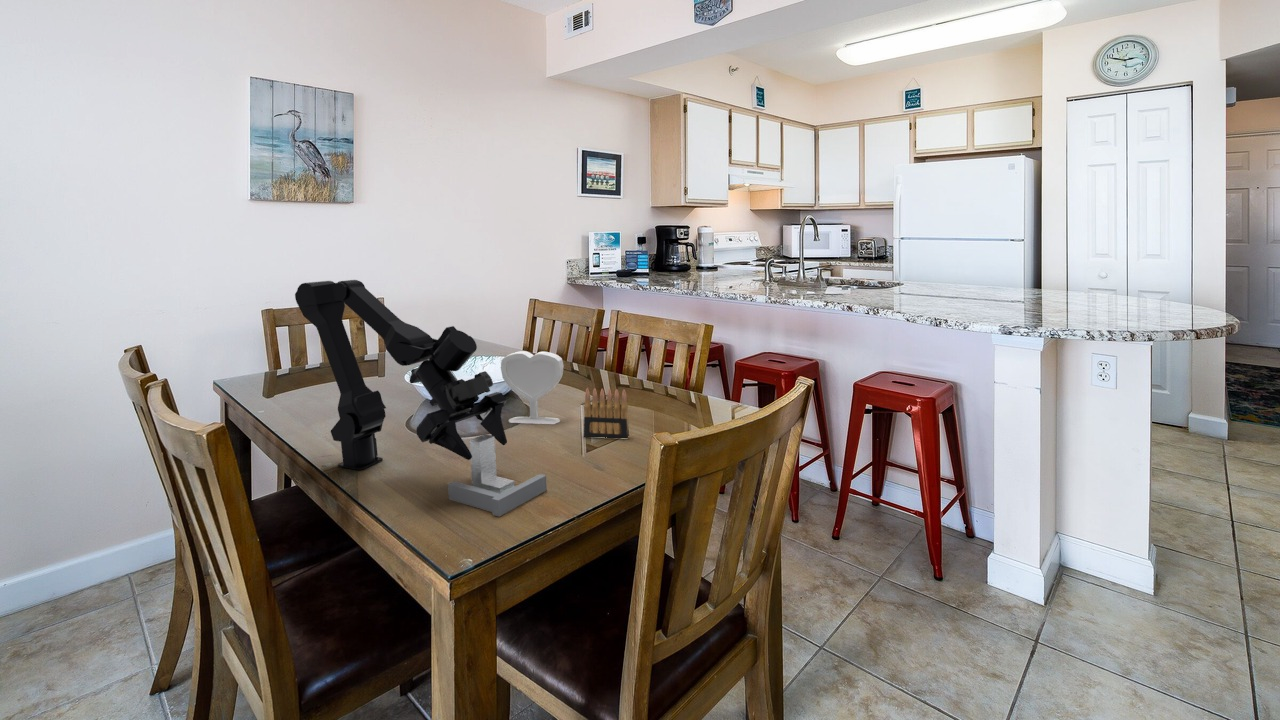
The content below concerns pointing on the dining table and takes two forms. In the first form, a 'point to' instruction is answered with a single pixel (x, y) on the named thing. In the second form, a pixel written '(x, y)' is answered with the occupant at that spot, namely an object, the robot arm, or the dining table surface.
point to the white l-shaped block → (486, 466)
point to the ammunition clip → (606, 416)
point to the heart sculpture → (532, 380)
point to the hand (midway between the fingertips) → (488, 451)
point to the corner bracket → (497, 495)
